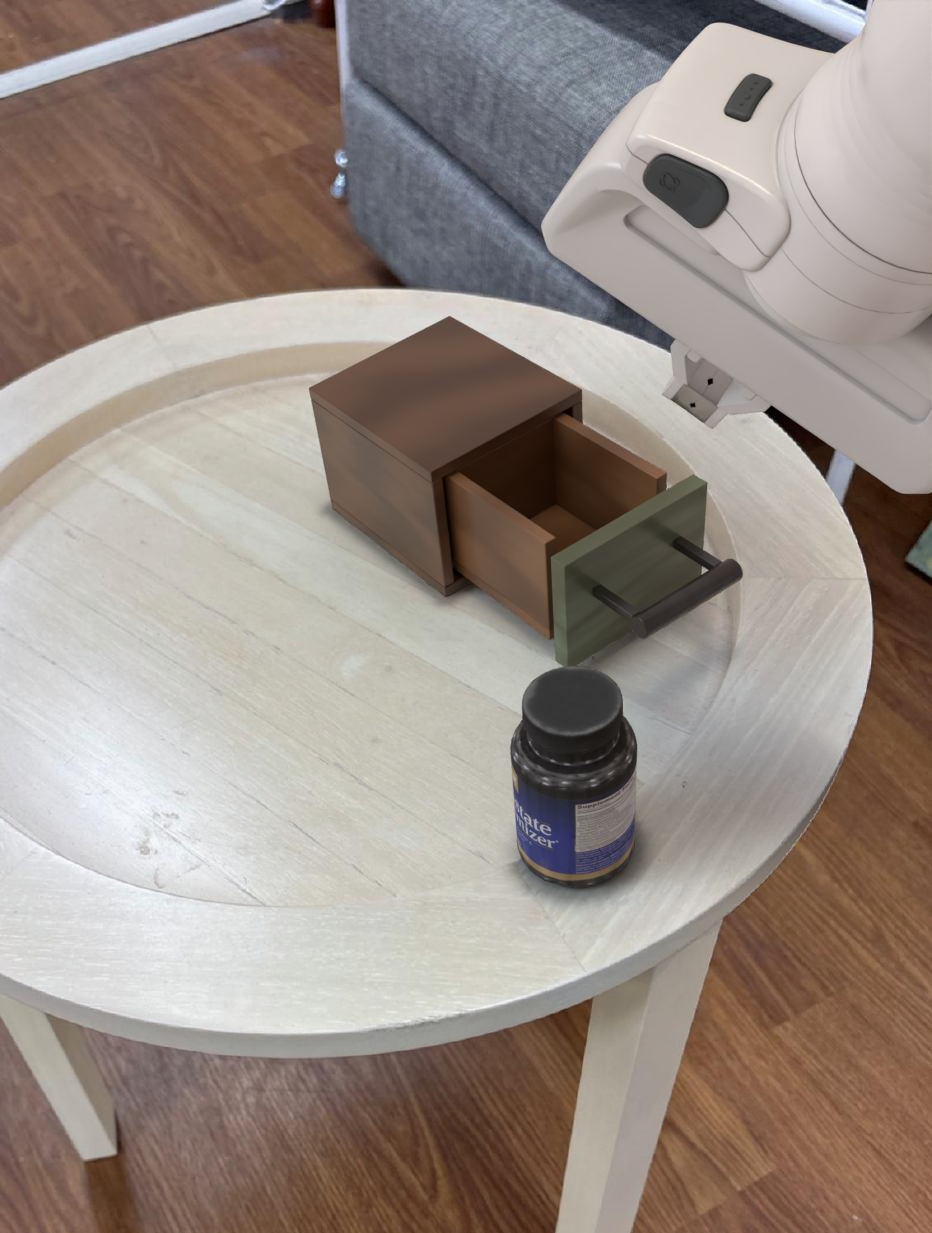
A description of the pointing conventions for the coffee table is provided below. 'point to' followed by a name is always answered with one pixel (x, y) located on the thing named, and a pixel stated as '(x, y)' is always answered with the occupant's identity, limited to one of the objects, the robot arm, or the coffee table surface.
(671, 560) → the drawer
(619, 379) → the coffee table surface
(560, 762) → the pill bottle
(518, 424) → the cabinet
